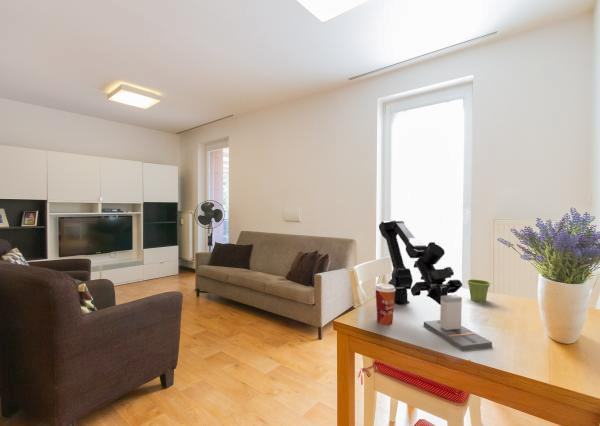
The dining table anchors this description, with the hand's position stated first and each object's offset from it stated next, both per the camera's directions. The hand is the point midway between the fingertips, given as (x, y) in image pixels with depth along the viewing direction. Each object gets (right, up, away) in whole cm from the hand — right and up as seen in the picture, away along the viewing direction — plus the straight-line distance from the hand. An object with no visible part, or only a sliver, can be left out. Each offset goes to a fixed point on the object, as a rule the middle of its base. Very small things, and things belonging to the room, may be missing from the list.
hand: (447, 308), depth 105 cm
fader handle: (0, -6, -2) cm, 6 cm away
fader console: (+1, -8, -4) cm, 9 cm away
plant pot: (+31, -7, +33) cm, 46 cm away
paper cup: (-20, -8, +8) cm, 23 cm away
